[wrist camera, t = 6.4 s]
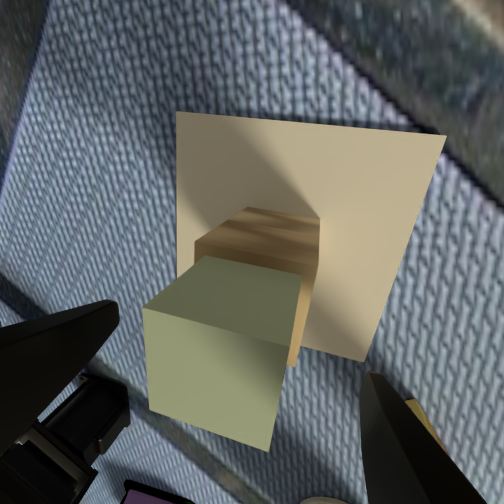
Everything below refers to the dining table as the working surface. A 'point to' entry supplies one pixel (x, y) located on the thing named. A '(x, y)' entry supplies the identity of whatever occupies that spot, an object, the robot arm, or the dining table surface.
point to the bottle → (322, 501)
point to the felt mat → (311, 205)
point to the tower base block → (279, 220)
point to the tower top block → (268, 260)
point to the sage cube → (221, 347)
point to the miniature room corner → (149, 495)
